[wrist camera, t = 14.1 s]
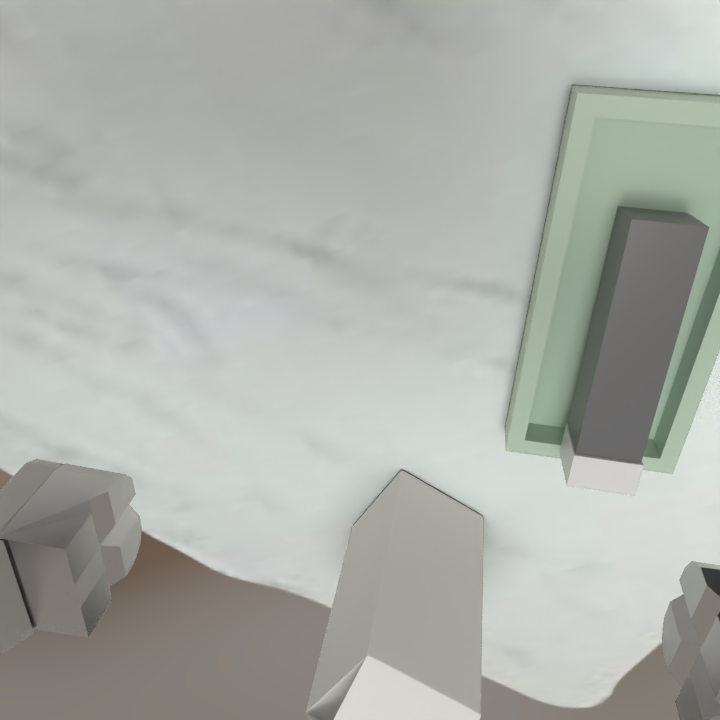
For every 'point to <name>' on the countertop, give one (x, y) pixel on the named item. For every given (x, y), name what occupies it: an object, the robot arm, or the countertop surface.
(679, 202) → the tray
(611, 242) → the dark grey bar
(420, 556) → the milk carton
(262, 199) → the countertop surface
